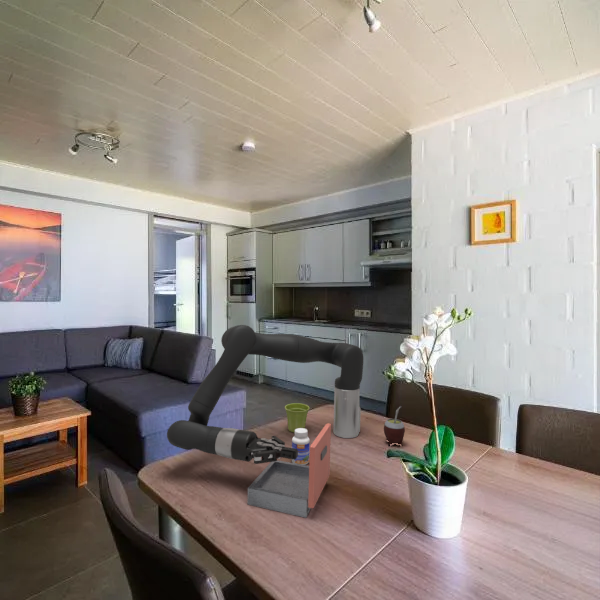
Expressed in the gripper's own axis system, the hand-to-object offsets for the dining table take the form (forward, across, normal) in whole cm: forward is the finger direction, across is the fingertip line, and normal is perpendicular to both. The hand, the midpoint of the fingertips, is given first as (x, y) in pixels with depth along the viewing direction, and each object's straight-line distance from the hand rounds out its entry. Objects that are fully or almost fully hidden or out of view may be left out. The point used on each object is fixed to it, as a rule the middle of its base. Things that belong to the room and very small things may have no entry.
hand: (296, 454), depth 91 cm
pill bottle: (-5, +17, +11) cm, 21 cm away
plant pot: (-14, +41, +11) cm, 45 cm away
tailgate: (+6, 0, +8) cm, 10 cm away
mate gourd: (+22, +41, +11) cm, 48 cm away
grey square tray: (-2, 0, +10) cm, 11 cm away
